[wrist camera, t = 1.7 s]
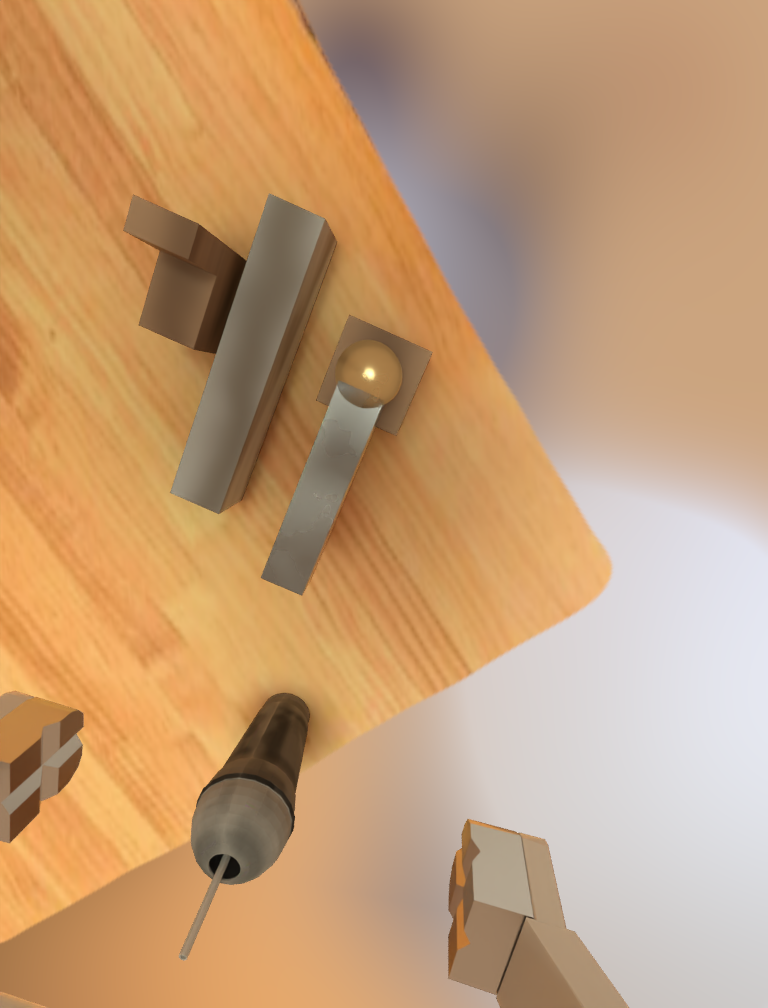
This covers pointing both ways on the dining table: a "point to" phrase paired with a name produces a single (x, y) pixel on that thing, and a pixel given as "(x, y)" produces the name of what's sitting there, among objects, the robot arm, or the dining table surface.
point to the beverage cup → (250, 802)
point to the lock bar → (333, 461)
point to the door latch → (247, 333)
